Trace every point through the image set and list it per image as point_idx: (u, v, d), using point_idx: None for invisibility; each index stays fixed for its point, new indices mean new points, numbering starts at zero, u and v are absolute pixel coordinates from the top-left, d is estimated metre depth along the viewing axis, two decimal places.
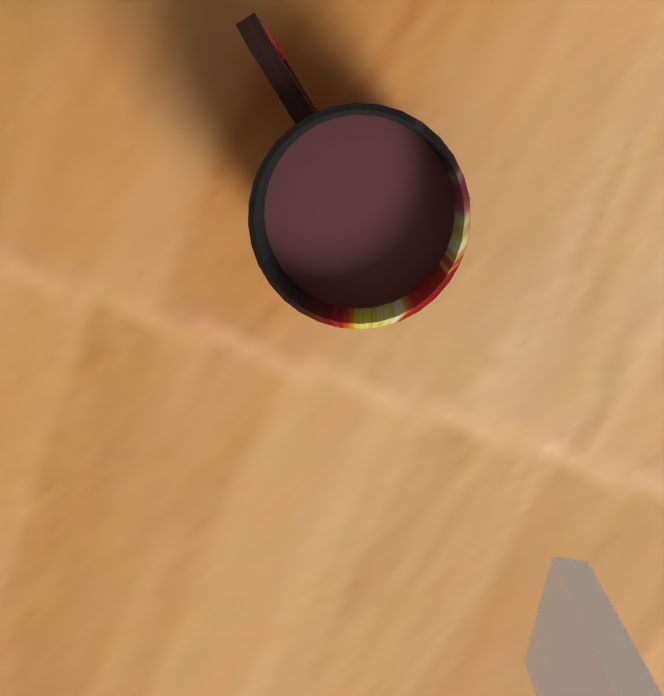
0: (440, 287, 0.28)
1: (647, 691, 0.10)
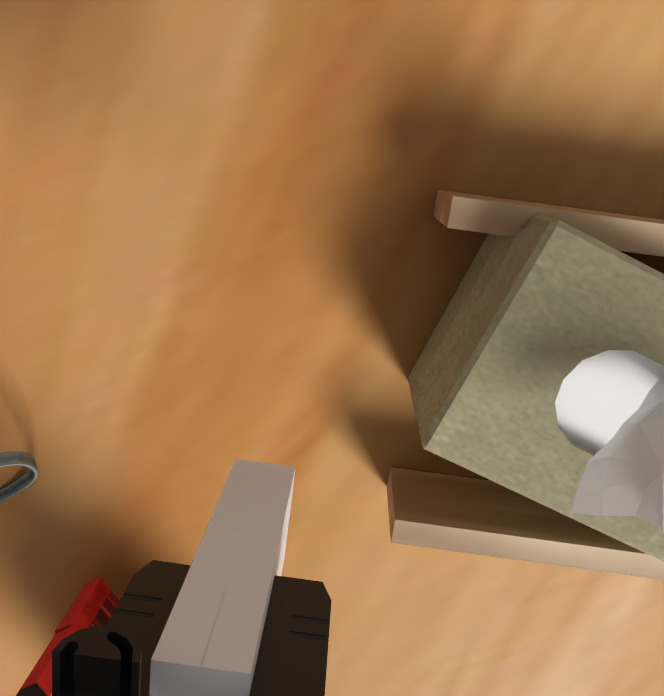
0: None
1: (266, 547, 0.12)
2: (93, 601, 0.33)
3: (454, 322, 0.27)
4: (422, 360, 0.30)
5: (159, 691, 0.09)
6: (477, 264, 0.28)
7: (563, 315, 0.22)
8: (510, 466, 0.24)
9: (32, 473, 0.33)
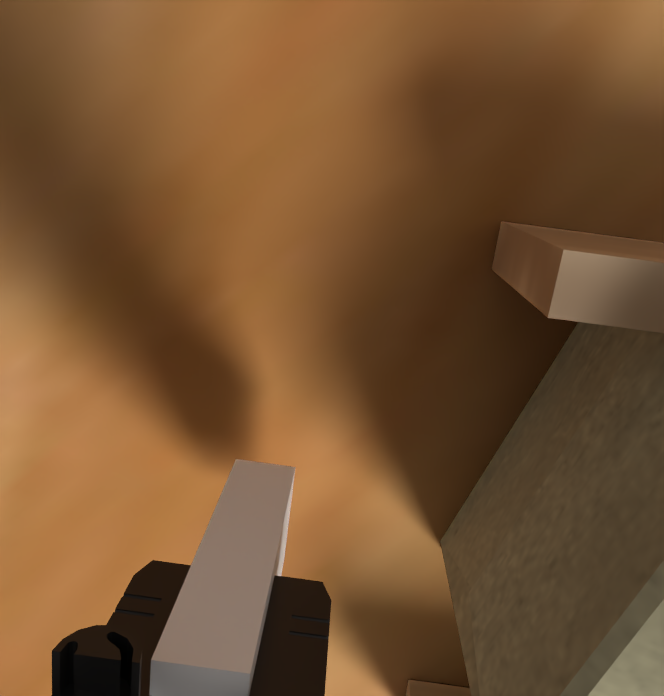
0: None
1: (266, 547, 0.12)
2: None
3: (544, 490, 0.13)
4: (469, 524, 0.17)
5: (159, 691, 0.09)
6: (576, 361, 0.15)
7: None
8: None
9: None
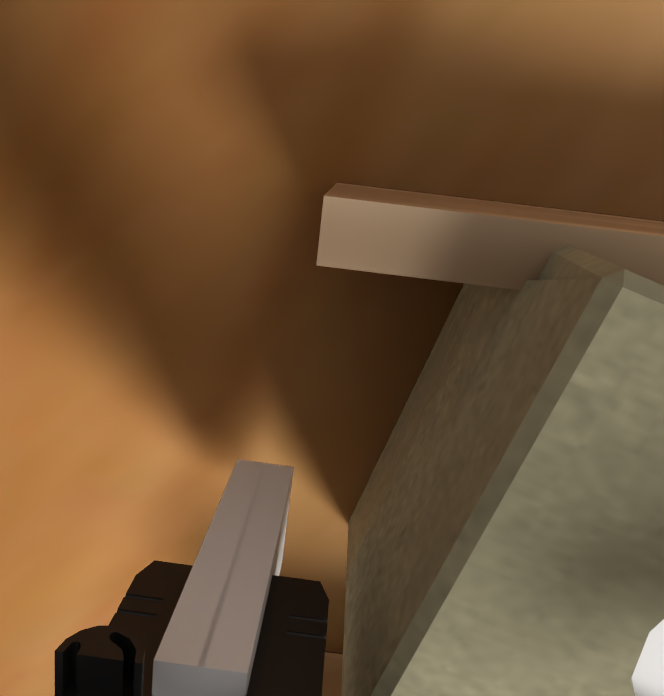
0: None
1: (264, 547, 0.12)
2: None
3: (407, 461, 0.13)
4: (366, 502, 0.17)
5: (161, 691, 0.09)
6: (451, 333, 0.15)
7: (646, 495, 0.09)
8: None
9: None
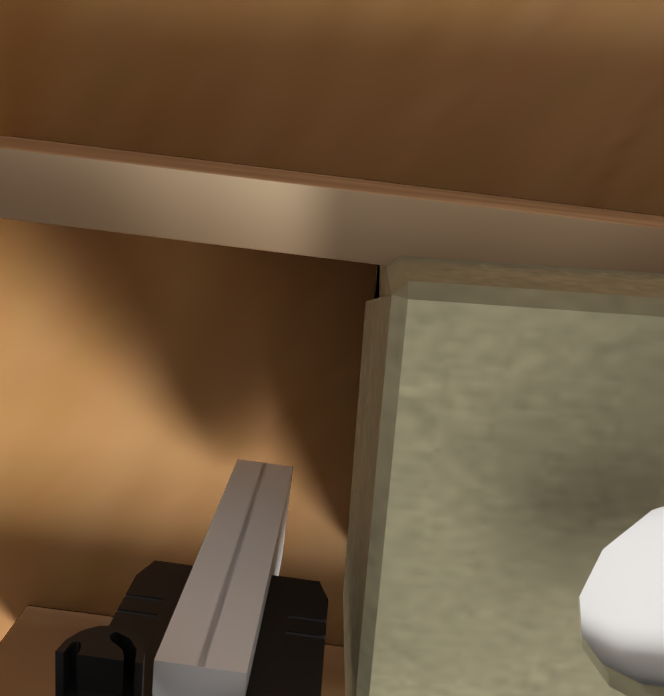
0: None
1: (263, 547, 0.12)
2: None
3: (352, 487, 0.14)
4: None
5: (162, 691, 0.09)
6: None
7: (516, 475, 0.09)
8: None
9: None
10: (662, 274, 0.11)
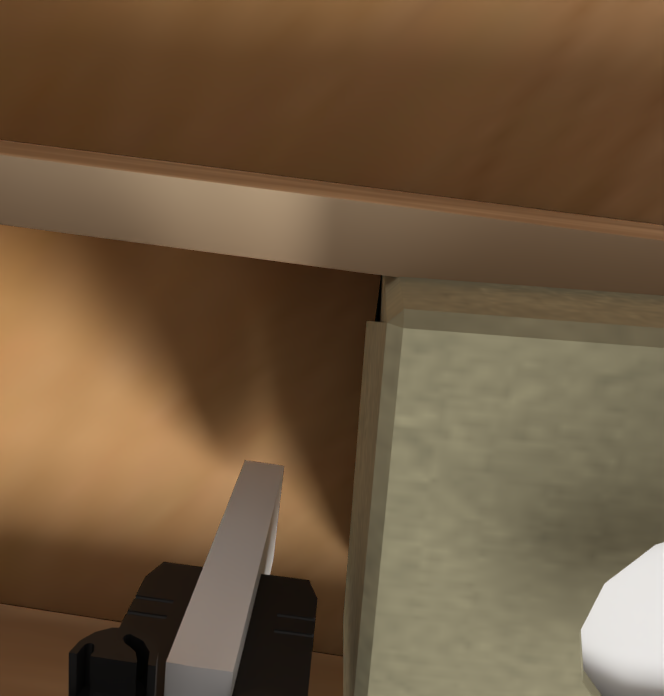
0: None
1: (252, 545, 0.12)
2: None
3: (352, 508, 0.14)
4: None
5: (174, 693, 0.09)
6: None
7: (515, 507, 0.09)
8: None
9: None
10: None
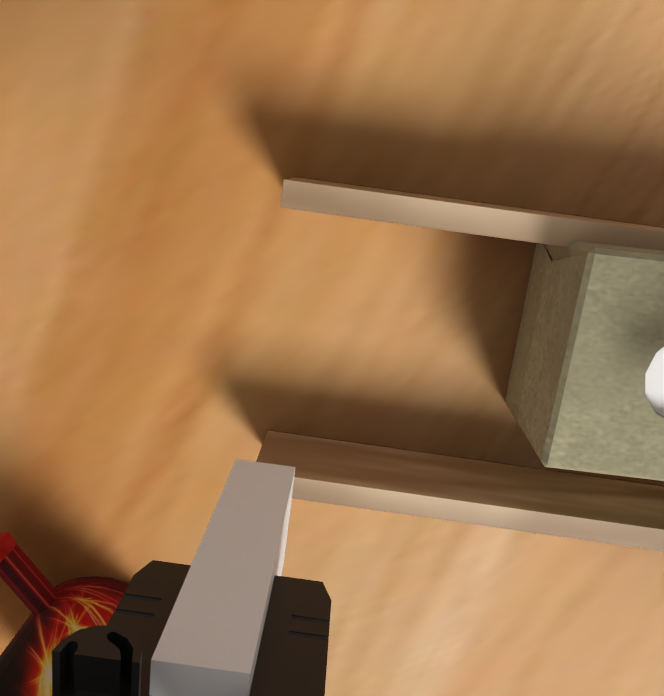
0: None
1: (266, 547, 0.12)
2: None
3: (532, 349, 0.30)
4: (513, 384, 0.34)
5: (159, 691, 0.09)
6: (533, 290, 0.32)
7: (626, 321, 0.26)
8: (625, 458, 0.27)
9: None
10: None
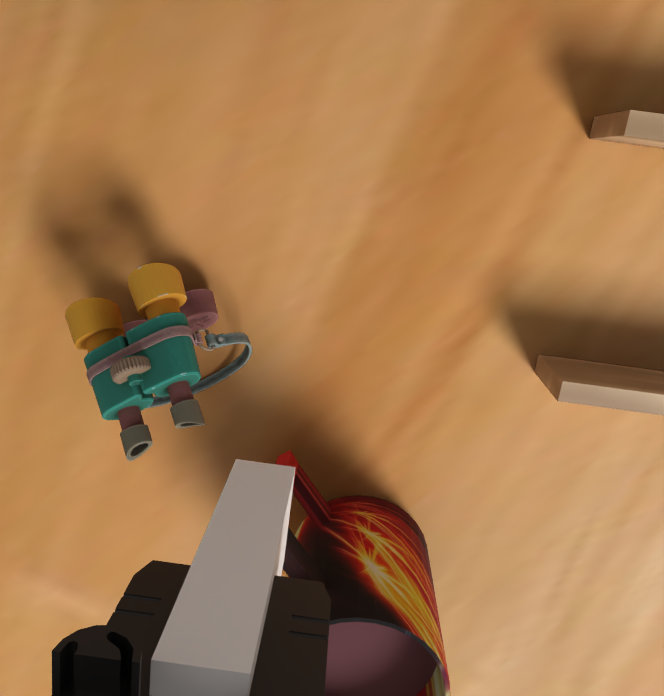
0: None
1: (266, 547, 0.12)
2: (291, 466, 0.40)
3: None
4: None
5: (159, 691, 0.09)
6: None
7: None
8: None
9: (241, 359, 0.39)
10: None
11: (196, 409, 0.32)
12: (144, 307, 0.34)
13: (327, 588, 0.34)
